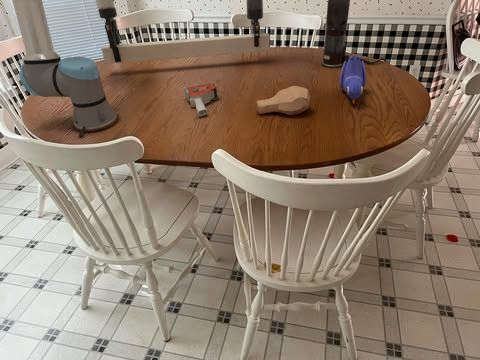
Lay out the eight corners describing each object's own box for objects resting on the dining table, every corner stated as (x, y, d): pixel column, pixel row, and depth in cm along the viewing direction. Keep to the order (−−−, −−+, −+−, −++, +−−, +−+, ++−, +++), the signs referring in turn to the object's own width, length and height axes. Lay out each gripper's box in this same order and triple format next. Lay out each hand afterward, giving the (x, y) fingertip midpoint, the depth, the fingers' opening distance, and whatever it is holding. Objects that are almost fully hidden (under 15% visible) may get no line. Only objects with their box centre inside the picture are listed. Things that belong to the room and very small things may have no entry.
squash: (314, 116, 128) (313, 95, 122) (259, 125, 130) (256, 105, 124) (308, 99, 136) (307, 78, 129) (257, 108, 138) (253, 88, 131)
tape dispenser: (202, 122, 132) (232, 99, 144) (201, 109, 128) (231, 87, 141) (166, 111, 139) (197, 89, 152) (164, 98, 136) (196, 78, 148)
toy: (338, 94, 152) (340, 108, 129) (340, 53, 145) (343, 60, 123) (362, 94, 149) (368, 108, 127) (365, 52, 143) (373, 58, 120)
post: (105, 64, 171) (101, 48, 166) (107, 60, 175) (103, 45, 170) (269, 51, 174) (269, 35, 170) (267, 48, 178) (267, 32, 174)
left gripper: (110, 10, 152) (124, 65, 166) (118, 3, 166) (130, 53, 180) (93, 12, 152) (107, 66, 165) (102, 4, 166) (115, 54, 180)
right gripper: (265, 9, 159) (265, 48, 169) (260, 3, 171) (261, 40, 181) (248, 11, 159) (250, 49, 169) (245, 5, 170) (246, 41, 180)
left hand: (119, 59), depth 173 cm, fingers closed on post, 5 cm apart
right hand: (255, 44), depth 175 cm, fingers closed on post, 5 cm apart
